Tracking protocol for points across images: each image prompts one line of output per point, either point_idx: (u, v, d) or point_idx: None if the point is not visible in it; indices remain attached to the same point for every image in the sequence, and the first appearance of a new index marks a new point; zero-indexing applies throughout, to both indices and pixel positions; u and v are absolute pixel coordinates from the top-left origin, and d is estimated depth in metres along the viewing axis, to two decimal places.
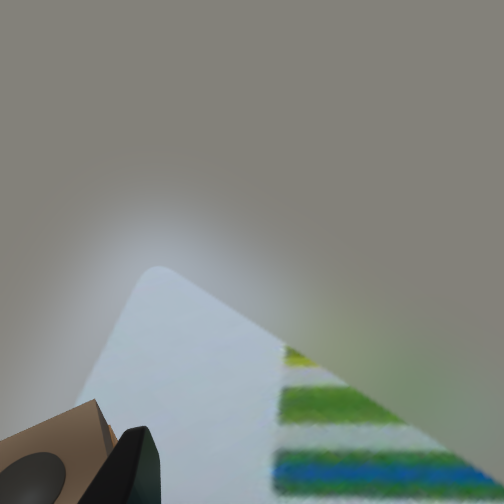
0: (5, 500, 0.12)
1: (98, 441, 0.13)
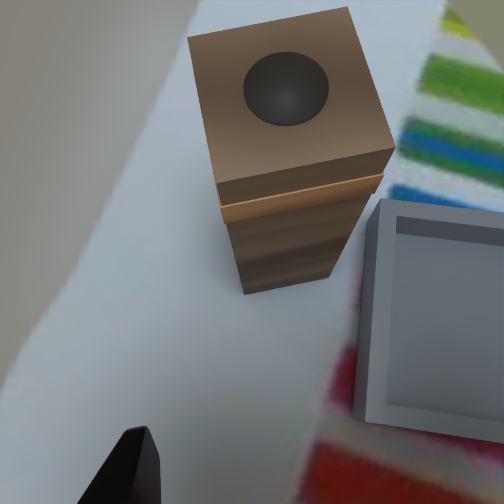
0: (269, 93, 0.11)
1: (359, 59, 0.12)
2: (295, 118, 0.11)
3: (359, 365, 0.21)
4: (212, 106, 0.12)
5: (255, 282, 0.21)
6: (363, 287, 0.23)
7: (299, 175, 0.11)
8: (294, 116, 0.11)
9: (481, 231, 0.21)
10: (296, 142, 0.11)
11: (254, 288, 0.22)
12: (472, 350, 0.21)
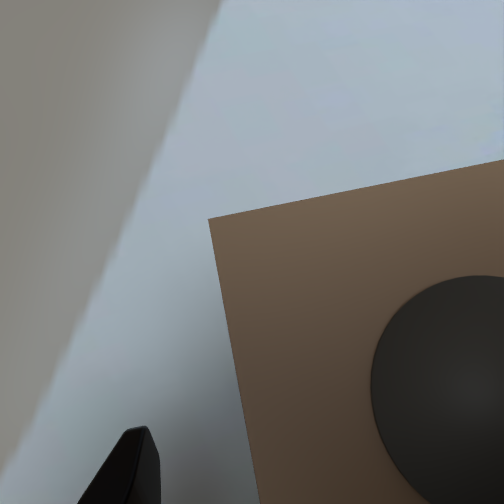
0: (452, 417, 0.04)
1: None
2: None
3: None
4: (283, 449, 0.04)
5: None
6: None
7: None
8: None
9: None
10: None
11: None
12: None
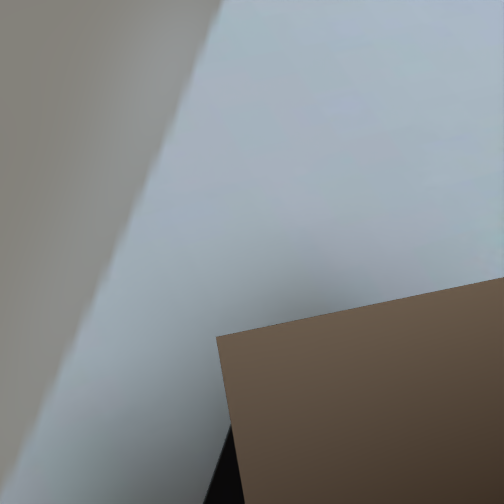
0: None
1: None
2: None
3: None
4: None
5: None
6: None
7: None
8: None
9: None
10: None
11: None
12: None
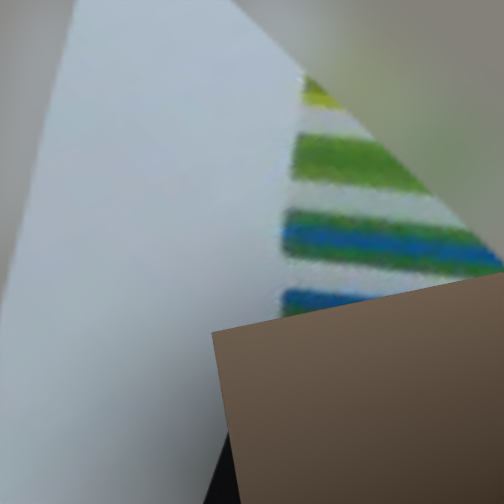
0: None
1: None
2: None
3: None
4: None
5: None
6: None
7: None
8: None
9: None
10: None
11: None
12: None
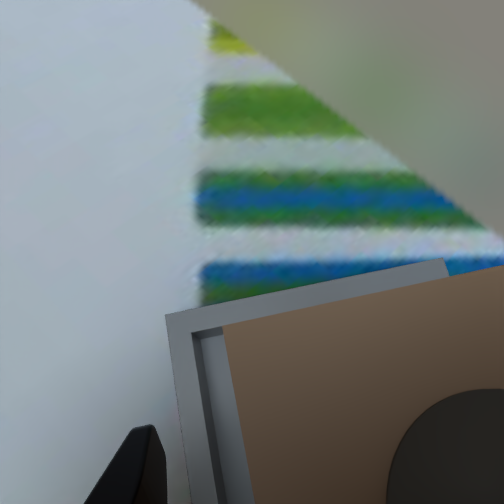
0: None
1: None
2: None
3: None
4: None
5: None
6: None
7: None
8: None
9: None
10: None
11: None
12: None
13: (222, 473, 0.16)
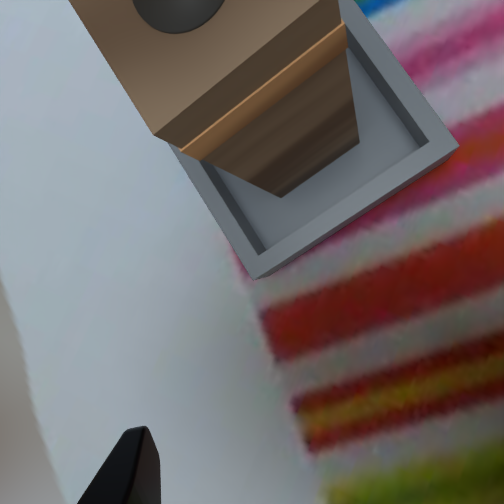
0: None
1: None
2: (204, 12, 0.09)
3: None
4: (112, 45, 0.10)
5: (283, 184, 0.20)
6: None
7: (239, 78, 0.09)
8: (203, 9, 0.09)
9: None
10: (218, 42, 0.09)
11: (286, 189, 0.21)
12: None
13: (231, 194, 0.22)
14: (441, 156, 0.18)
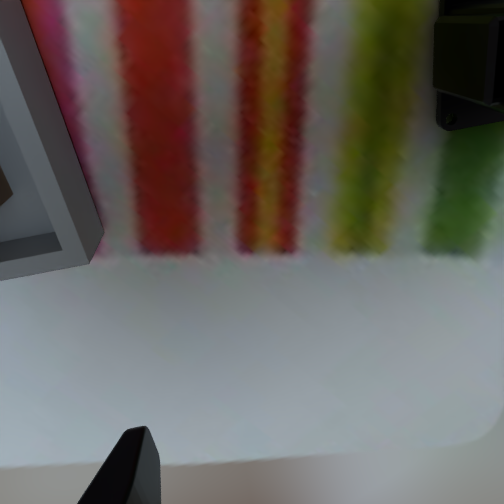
0: None
1: None
2: None
3: None
4: None
5: None
6: None
7: None
8: None
9: None
10: None
11: None
12: None
13: None
14: None
